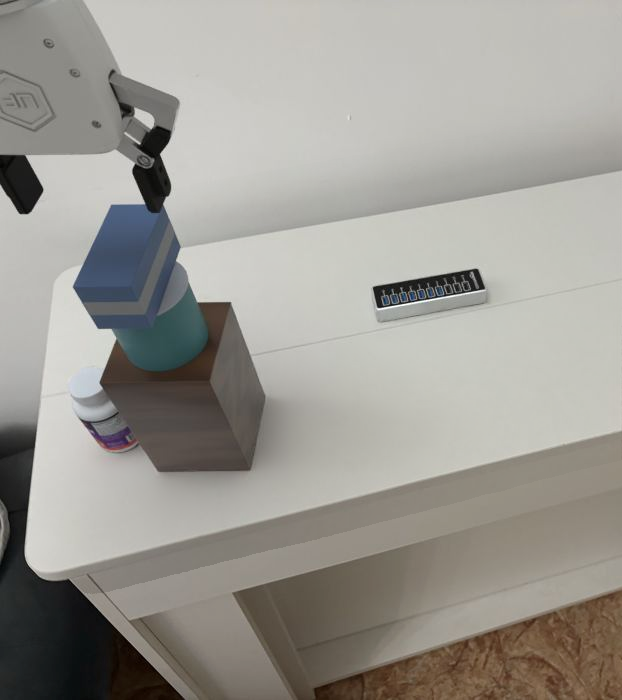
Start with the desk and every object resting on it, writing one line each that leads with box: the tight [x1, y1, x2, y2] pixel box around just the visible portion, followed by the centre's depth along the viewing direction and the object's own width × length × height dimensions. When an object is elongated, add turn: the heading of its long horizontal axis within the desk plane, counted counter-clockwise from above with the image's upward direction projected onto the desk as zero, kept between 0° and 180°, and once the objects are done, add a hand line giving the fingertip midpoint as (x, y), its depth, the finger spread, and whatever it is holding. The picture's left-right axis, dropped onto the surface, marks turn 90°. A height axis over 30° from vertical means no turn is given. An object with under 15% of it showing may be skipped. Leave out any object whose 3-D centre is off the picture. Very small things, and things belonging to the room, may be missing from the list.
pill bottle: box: [67, 366, 139, 453], centre depth 76 cm, size 5×5×10 cm
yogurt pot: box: [111, 260, 209, 372], centre depth 65 cm, size 8×8×7 cm
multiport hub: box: [370, 267, 488, 323], centre depth 92 cm, size 4×14×2 cm, turn 104°
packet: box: [72, 203, 182, 330], centre depth 60 cm, size 10×4×5 cm, turn 1°
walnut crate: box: [99, 301, 266, 473], centre depth 74 cm, size 10×10×16 cm
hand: (96, 202), depth 54 cm, fingers open, 9 cm apart
